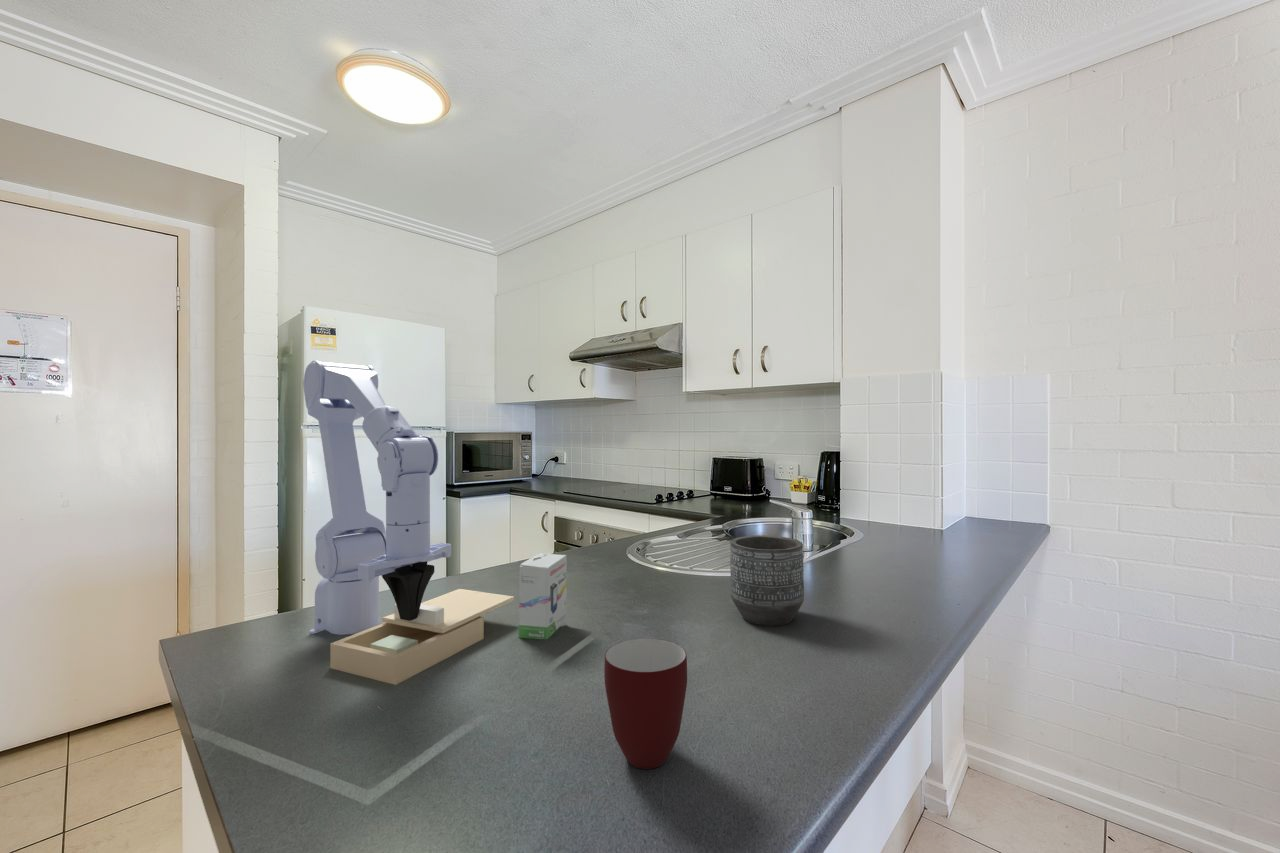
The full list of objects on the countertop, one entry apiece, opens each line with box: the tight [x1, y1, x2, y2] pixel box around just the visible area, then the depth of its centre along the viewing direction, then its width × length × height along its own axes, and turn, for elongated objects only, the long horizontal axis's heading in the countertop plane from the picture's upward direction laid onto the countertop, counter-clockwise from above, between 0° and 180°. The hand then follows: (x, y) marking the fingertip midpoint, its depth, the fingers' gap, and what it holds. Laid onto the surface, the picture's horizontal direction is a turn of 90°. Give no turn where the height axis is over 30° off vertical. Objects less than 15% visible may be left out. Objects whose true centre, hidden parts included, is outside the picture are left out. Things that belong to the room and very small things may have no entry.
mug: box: [603, 638, 688, 770], centre depth 53 cm, size 10×8×10 cm
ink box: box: [518, 552, 568, 640], centre depth 84 cm, size 9×5×12 cm, turn 168°
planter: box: [729, 535, 805, 627], centre depth 91 cm, size 12×12×13 cm
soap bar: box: [370, 635, 418, 654], centre depth 73 cm, size 5×4×2 cm
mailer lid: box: [382, 588, 515, 633], centre depth 83 cm, size 12×16×3 cm
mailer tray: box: [329, 616, 485, 686], centre depth 76 cm, size 12×16×4 cm
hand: (408, 618), depth 75 cm, fingers closed
